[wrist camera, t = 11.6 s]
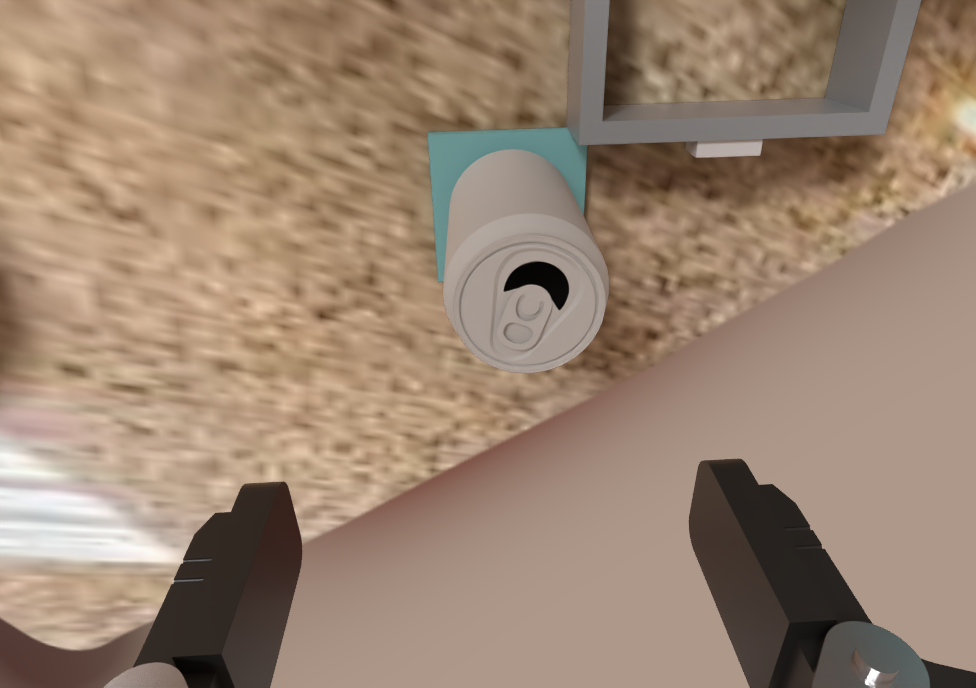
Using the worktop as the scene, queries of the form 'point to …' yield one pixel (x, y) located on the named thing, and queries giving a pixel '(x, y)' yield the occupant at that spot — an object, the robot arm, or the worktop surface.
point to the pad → (466, 147)
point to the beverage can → (521, 265)
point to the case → (744, 124)
